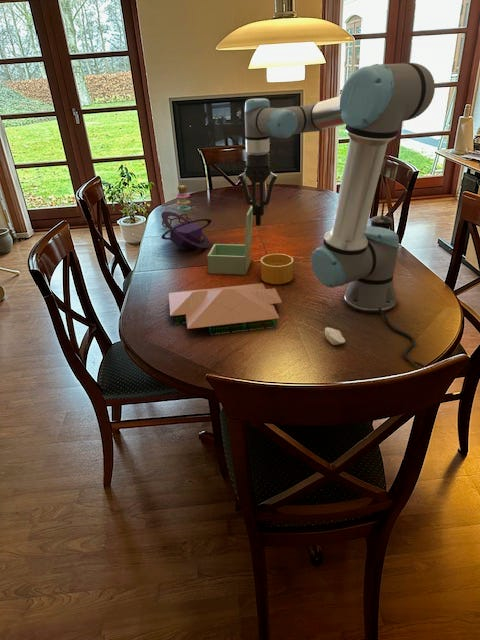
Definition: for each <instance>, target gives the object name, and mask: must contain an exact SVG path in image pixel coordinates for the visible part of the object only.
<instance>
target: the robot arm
mask: <svg viewBox="0 0 480 640" xmlns="http://www.w3.org/2000/svg"><path fill="white" fill-rule="evenodd" d="M435 91H436V83H435V80H434V76H433V75H432V73H431V71H430V70H429V69H428V68H427V67H426V66H424V65H422V64H419V63H416V62H405V63H380V64H379V63H375V64H371V65H366V66H362V67H360V68H358V69H357V70H355V71H354V72H352V73H351V74H350V76H349V77H348V78H347V79H346V81H345V82H344V85H343V86H342V89H341V91H340V95H339V96H335V97H331V98H328V99H325V100H321V101H318V102H315V103H310V104H305V105H294V106H286V107H271V105H270V100H269V99H268V98H264V97H263V98H261V97H260V98H249V99H246V100H245V102H244V113H243V114H244V132H245V135H244V136H245V152H246V154H245V169H244V172H242V173H240V174H239V176H238V177H237V178H238V180H239V182H240V183H241V186H242V190H243V194H244V198H245V201H246V204H247V205H249V206H251V205H252V211H253V216H255V226H256V227H260V226H261V225H262V216H264V214H265V206H268V205H269V204H270V202H271V201H270V200H271V197H272V193H273V189H274V184H275V182H276V181H277V179H278V174H277V173H273V172H272V170H271V167H270V153H269V152H270V137H274V138H277V139H288V138H290V137H292V136H293V135H297V134H305V133H312V132H313V133H315V132H316V133H317V132H321V131H323V130H324V131H325V130H326V129H331V128H336V127H341V126H345V128H344V130H345V131H344V132H346V134H347V135H348V137H349V141H348V147H347V151H346V155H345V160H344V166H343V171H342V174H341V175H342V176H341V181H340V185H339V191H338V195H337V199H336V205H335V210H334V215H333V220H332V224H331V229H329V230H328V231H326V232H325V234H324V235H323V241H322V245H321V246H318V247H316V249H313V251H312V252H311V256H310V264H311V265H310V266H311V268H312V271H313V273H314V275H315V278H316V279H317V280H318V281H319V282H320V283H321V285H323V286H325V287H328V288H337V287H342V286H345V285H347V284H348V286H347V288H346V290H345V293H344V303H345V305H346V306H347V307H349V308H351V309H352V310H354V311H357V312H361V313H365V314H381V315H382V317H383V318H384V321H385V322H386V324H387V326H388V327H389V328H390V329H391V330H393V331H394V332H396V333H398V334H401V335H403V336H404V337H407V338H408V339H410V340H411V344H410V345H409V346H408V347H407V348H406V349H405V350H404V352H403V357H404V359H405V361H407V362H408V363H411V364H413V365H416V364H417V366H419V367H421V368H422V367H425V366H426V365H425V364H423V363H421V362H419V361H417V360H413V359H412V358H409V356H408V352H410V350H412V349H413V348H414V346H415V345H416V341H415V339H414V337H413V336H412V335H411V334H409V333H407V332H404V331H402V330H400V329H397V328H396V327H394V326H393V325H392V324H391V323H390V322H391V321H389V319H388V317H387V315H386V313H387V312H390V311H391V310H393V309H395V307H396V303H397V294H396V291H395V286H394V275H395V268H396V263H397V256H398V250H399V242H400V241H399V239H400V238H399V235H398V233H397V232H396V231H393V230H392V229H390V230H389V229H386V228H381V227H374V226H371V225H369V226H368V221H369V218H370V214H371V210H372V206H373V203H374V197H375V193H376V190H377V186H378V182H379V179H380V175H381V170H382V166H383V163H384V159H385V155H386V152H387V148H388V144H389V143H390V142H391V141H394V139H396V138H397V136H398V132H399V129H400V125H401V122H405V121H410V120H412V119H416V118H417V117H419V116H421V115H422V114H423V113H424V112H425V111H427V109H428V108H429V106H430V105H431V103H432V101H433V100H434V96H435ZM268 177H269V180H270V181H269V185H268V189H267V193H266V197H265V182H266V181H267V179H268ZM247 179H248V180H249V181H250V182H251V194H250V189H249V185H248V182H247ZM257 184H258V185H259V186H258V187H259V204H258V203H257V202H258V199H257V197H258V195H257V194H258V193H257V192H258V190H257V188H258V187H257ZM408 358H409V359H410V360H411V361H412V362H414V363H415V364H414V363H412V362H411V361H410V360H409V359H408Z"/></svg>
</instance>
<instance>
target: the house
mask: <svg viewBox="0 0 480 640" xmlns="http://www.w3.org/2000/svg"><path fill="white" fill-rule="evenodd" d="M168 298H169V299H168V303H169V316H170V317H172V319H173V320H179V319H181V320H182V321H183V319H185V322H184V321H183V324H186V328H187V330H191V329H201V328H208V329H209V334H210V335H212V330H213V331H215V330H216V333H215V335H221V334H227V333H229V331H227V332H226V331H221V330H220V329H218V327H220V326H222V329H228V325H230V326H232V328H233V329H234V328H236V330H233V333H236V332H245V331H247V323H248V326H254V327H253V328H251V329H250V331H252V330H256V328H255V327H256V323H255V322H258V325H261V321H262V322H263V321H265V324H267V323H268V325H267V329H270V328H271V329H272V326H269V324H271V321H272V324H273V326H274V328H276V327H277V321H276V320H277V319H280V317H279V314H278V313H277V310H276V308H275V305H279V304H283V301H282V299H281V297H280V295H279V293H278V292H277V289H276V288H266V287H265V285H264V283H262V282H261V283H249V284H241V285H232V286H224V287H222V286H221V287H213V288H203V289H193V290H184V291H183V290H182V291H175V292H174V291H173V292H168ZM177 316H179V318H178V317H177ZM181 316H184V317H181ZM175 317H176V318H175ZM266 321H267V322H266ZM173 324H174V325H177V324H179V322H176V321H173ZM235 324H236V325H235ZM237 324H239V327H243V328H244V329H241V330H240V329H239V330H238V329H237V327H238V325H237ZM226 325H227V326H226ZM223 326H224V327H223ZM211 327H212V328H211ZM214 327H215V328H214ZM260 329H263V327H259V328H258V330H260ZM217 330H218V331H219V332H218V331H217ZM220 331H221V332H220Z"/></svg>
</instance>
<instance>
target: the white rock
mask: <svg viewBox="0 0 480 640" xmlns="http://www.w3.org/2000/svg"><path fill="white" fill-rule="evenodd" d="M324 335H325V338H326V340H327V341H328V342H329V343H330V344H331V345H333V346H339V345H342V344H345V343H346V339H345V338H344V336H343V335H342V332H341V331H340V330H339V329H335V328H333V327H329V326H327V327H325V328H324Z"/></svg>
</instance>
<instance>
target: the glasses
mask: <svg viewBox="0 0 480 640" xmlns="http://www.w3.org/2000/svg"><path fill="white" fill-rule="evenodd" d="M179 215H180V216H182V217H184V216H185V217H186V219H187V220H189V221H190V222H191V221H194V220H193V219H192V218H191V217H189V216H188V215H187V214H186V213H182V214H179ZM183 215H184V216H183ZM168 220H169V223H170V225H171V226H172V221H174V220H178V223H179V224H184V223H187V222H186V221H181V219H180V218H178V217H173V218H170V217H168ZM193 223H196V224H197V225H199V224H198V223H197V222H193ZM161 225H162V226H163V228H168V226H167V225H166V224H165V223H164V221H163V220H162V221H161Z"/></svg>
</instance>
